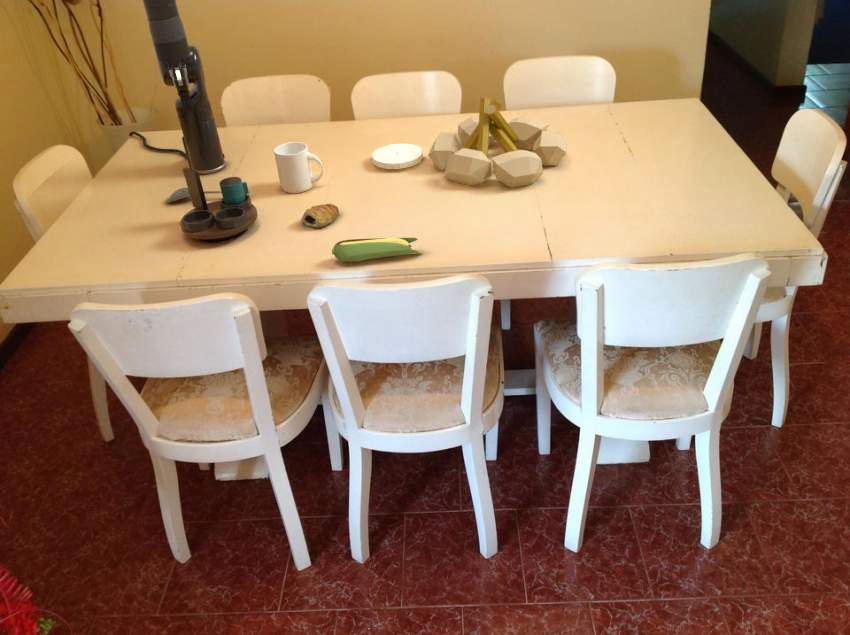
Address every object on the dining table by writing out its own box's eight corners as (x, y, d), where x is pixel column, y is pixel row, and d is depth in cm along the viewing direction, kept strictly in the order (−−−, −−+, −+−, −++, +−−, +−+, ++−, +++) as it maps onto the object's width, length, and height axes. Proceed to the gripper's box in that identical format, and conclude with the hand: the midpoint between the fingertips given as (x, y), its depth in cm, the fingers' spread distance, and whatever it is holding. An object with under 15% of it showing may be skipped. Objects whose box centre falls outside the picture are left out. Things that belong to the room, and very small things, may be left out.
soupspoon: (175, 195, 195) (165, 208, 190) (171, 184, 193) (161, 196, 188) (253, 191, 192) (246, 204, 187) (250, 180, 190) (242, 192, 185)
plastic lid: (413, 174, 195) (412, 165, 193) (365, 170, 199) (363, 161, 197) (430, 153, 205) (429, 145, 204) (383, 150, 209) (382, 142, 208)
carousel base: (182, 236, 174) (180, 229, 173) (220, 213, 183) (218, 206, 182) (223, 247, 169) (221, 239, 167) (260, 222, 178) (258, 215, 176)
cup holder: (273, 215, 175) (264, 172, 168) (209, 247, 164) (197, 201, 158) (227, 196, 186) (217, 154, 179) (164, 224, 175) (151, 181, 169)
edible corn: (334, 256, 162) (331, 237, 159) (424, 247, 162) (423, 229, 159) (333, 268, 157) (330, 249, 155) (426, 259, 158) (424, 240, 155)
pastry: (325, 208, 181) (323, 194, 179) (346, 214, 178) (344, 200, 176) (299, 224, 175) (297, 210, 173) (321, 231, 172) (318, 216, 169)
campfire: (479, 131, 216) (477, 72, 207) (584, 150, 199) (588, 88, 189) (408, 175, 194) (402, 112, 184) (520, 202, 177) (520, 134, 167)
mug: (321, 194, 188) (315, 154, 182) (277, 194, 190) (269, 155, 184) (330, 179, 195) (324, 141, 189) (287, 180, 197) (279, 142, 191)
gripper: (187, 41, 164) (206, 116, 174) (184, 28, 175) (202, 99, 185) (152, 46, 163) (174, 121, 173) (151, 33, 173) (172, 104, 183)
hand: (188, 110), depth 179 cm, fingers closed
